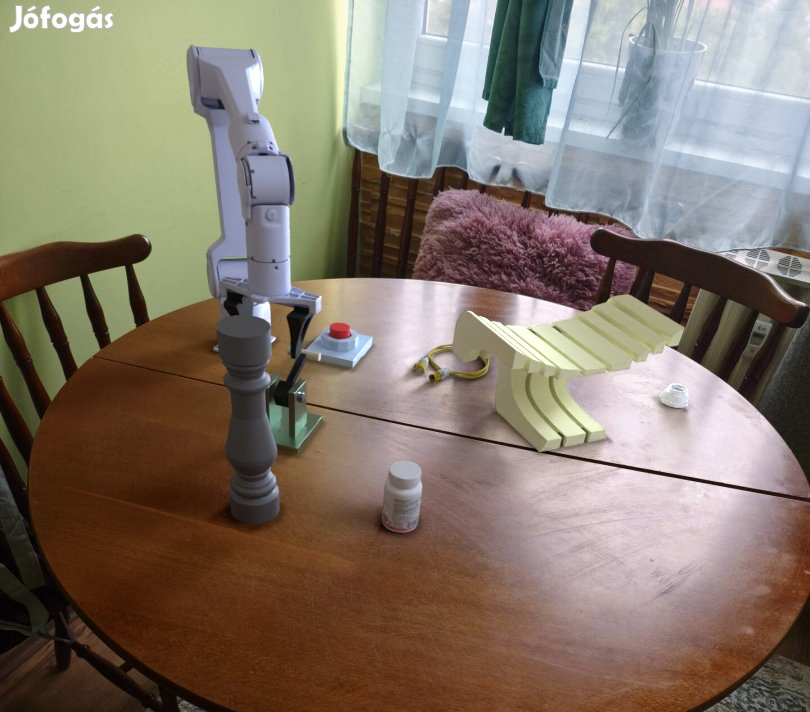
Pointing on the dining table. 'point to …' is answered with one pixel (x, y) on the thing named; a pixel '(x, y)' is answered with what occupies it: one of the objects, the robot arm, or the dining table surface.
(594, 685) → the dining table surface
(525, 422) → the slatted curved stool
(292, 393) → the switch bracket
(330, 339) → the button box
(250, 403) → the candle holder
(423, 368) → the extension cord
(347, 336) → the button
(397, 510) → the pill bottle
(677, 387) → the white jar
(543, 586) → the dining table surface
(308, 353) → the switch lever
